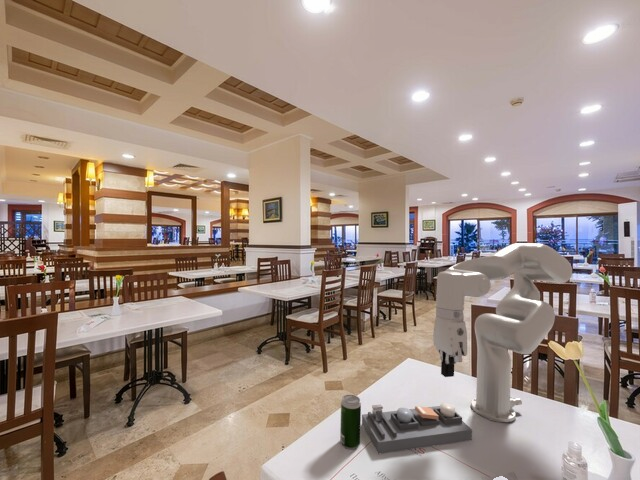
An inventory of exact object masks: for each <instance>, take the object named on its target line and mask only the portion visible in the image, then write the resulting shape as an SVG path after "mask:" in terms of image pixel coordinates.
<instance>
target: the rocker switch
mask: <svg viewBox="0 0 640 480" xmlns="http://www.w3.org/2000/svg"><path fill="white" fill-rule="evenodd" d="M414 409H415V410H416V411H417V413H418V414H419V415H420V416H421V417H422V418H430V419H438V417H439V416H438V415H437V414H436V413H435V412H434V411H433V410H432V409H431V408H427V406H426V407H425V406H417V405H415V406H414Z"/></svg>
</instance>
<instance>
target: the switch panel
mask: <svg viewBox="0 0 640 480" xmlns="http://www.w3.org/2000/svg"><path fill="white" fill-rule="evenodd" d="M426 407H427V406H426ZM427 408H431V409H432V410H433V411H434V412H435V413H436V414H437V415H438V416H439V417H438V419H430V418H422V417H421V416H420V415H419V414H418V413H417V411H416V410H415V408H410V409H409V408H408V409H409V410H410V411H411V412H412V421H411V422H410V423H403V422H400V421H399V420H398V419H397V410H393V411H392V410H391V411H384V412H383V411H382V421H376V420H375V418H374V417H373V415H372V412H371V411H369V412H368V411H367V413H364V414H361V425H362V427H363V429H364V431H365V433H366V435H367V436H368V438H369V440H370V442H371V443H372V445H373V448H375V451H376V452H377V454H378V455H379V454H387V453H393V452H401V451H406V450H407V451H408V450H415V449H421V448H429V447H436V446H441V445H442V446H443V445H449V444H455V443H462V442H469V441H470V442H471V441H472V440H473V429H472V428H471V427H470V426H469V425H468V424H467V423H466V422H464V421H463V417H462V416H461V415H460V414H459V413H458V412H456V411H455V416H454V417H453V418H449V417H445V416H443V415H442V414H441V413H440V405H435V406H428V407H427Z"/></svg>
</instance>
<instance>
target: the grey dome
mask: <svg viewBox="0 0 640 480" xmlns="http://www.w3.org/2000/svg"><path fill="white" fill-rule="evenodd" d="M396 411H397V419H398V420H399V421H400V422H403V423H410V422H411V421H412V412H411V411H410V410H409V408H407V407H399V408H398V409H397V410H396Z"/></svg>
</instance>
